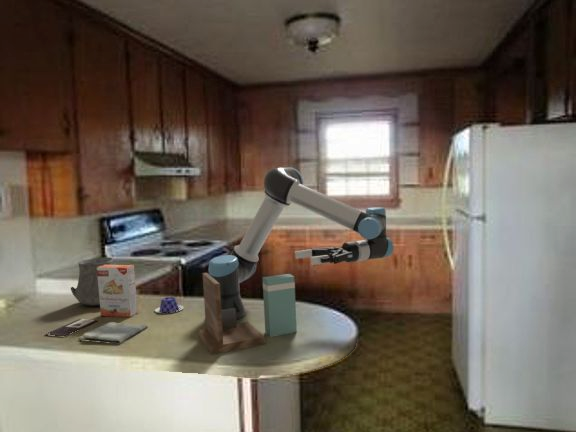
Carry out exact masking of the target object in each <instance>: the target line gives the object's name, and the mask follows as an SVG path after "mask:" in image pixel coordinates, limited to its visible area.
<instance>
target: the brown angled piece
mask: <svg viewBox="0 0 576 432" xmlns="http://www.w3.org/2000/svg"><path fill="white" fill-rule="evenodd" d="M202 285H203V300H204V301H203V302H204V318H205V328H202V329H198V335H199V338H200V340H201V341H202V343H203V344H204V345H205V347H206V349H207V350H208V351H209V353H210V354H211V356H212V355H216V354H217V355H218V354H221V353H227V352H231V351H236V350H242V349H246V348H251V347H257V346H261V345H265V344H266V343H265V341H266V340H265V339H266V338H265V336H264V335H263V334H262V333H261V332H260V331H259V330H258V329H257V328H256V327H254V325H252V324H251V323H250V321H248V320H247V321H242V322H237V328H231V329H226V330H222V315H221V298H220V283H218V282H217V281H216V280H215V279H214V278H213V277H211V276H210V275H209V272H202Z"/></svg>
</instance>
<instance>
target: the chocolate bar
mask: <svg viewBox="0 0 576 432" xmlns="http://www.w3.org/2000/svg"><path fill="white" fill-rule="evenodd" d="M98 322H99V321H98V319H88V318H86V319H85V318H79V319H76V320H74V321H71V322H69V323H68V324H64V325H62V326H61V327H58V328H56V329H53V330H52V331H49V332H47V333H48V334H49V333H50V335H55V336H66V335H68V334H70V333H72V332H75V331H77V330H79V331H81V330H83V329H85V328H87V327H89V326H91V325H94V324H96V323H98ZM82 328H83V329H82ZM80 329H81V330H80ZM77 332H78V331H77ZM47 333H45V334H46V335H48V334H47ZM75 333H76V332H75ZM68 336H69V335H68ZM66 337H67V336H66Z"/></svg>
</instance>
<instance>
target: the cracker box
mask: <svg viewBox="0 0 576 432" xmlns="http://www.w3.org/2000/svg"><path fill="white" fill-rule="evenodd" d="M97 276H98V288H99V299H100V305H99V307H100V309H99V310H100V316H101V317H112V318H113V317H117V318H131V317H133V316H135V315H137V314H138V313H139V312H138V299H137V286H136V285H137V284H136V273H135V264H112V265H103V266H99V267H97Z"/></svg>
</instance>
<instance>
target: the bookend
mask: <svg viewBox="0 0 576 432" xmlns="http://www.w3.org/2000/svg"><path fill="white" fill-rule="evenodd" d="M221 315H222V330H226V329H231V328H237V323H238V322H237V319H236V308H231V309H225V310H221Z"/></svg>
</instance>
